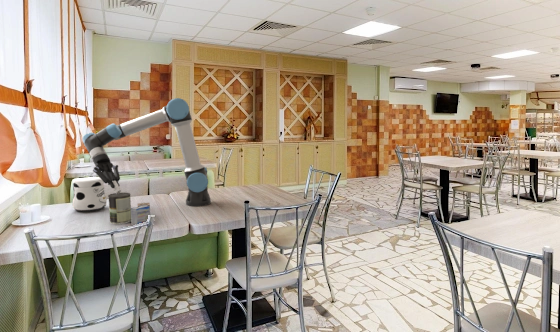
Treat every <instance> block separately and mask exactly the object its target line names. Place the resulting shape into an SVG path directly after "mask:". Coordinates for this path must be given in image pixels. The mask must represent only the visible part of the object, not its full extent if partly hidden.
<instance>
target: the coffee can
mask: <svg viewBox="0 0 560 332" xmlns="http://www.w3.org/2000/svg"><path fill="white" fill-rule="evenodd" d="M107 196H108V197H107V198H108V207H109V208H108V209H109V210H108V211H109V212H108V213H109V223H110V224H111V225H122V224H126V223H129V222H131V208H132V206H131V202H132V201H131V193H130V192H120V193H119V194H116V192H114V193H110V194H108V195H107Z"/></svg>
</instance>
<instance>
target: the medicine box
mask: <svg viewBox="0 0 560 332" xmlns="http://www.w3.org/2000/svg"><path fill="white" fill-rule="evenodd" d="M148 215H150V216H151V205H150V206H147V205H143V206H139V207H138V206H135V207H131V221H130V222H131V225H132V226H134V225H135V224H139V223H143V222H146V221H147V219H148Z"/></svg>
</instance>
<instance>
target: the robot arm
mask: <svg viewBox="0 0 560 332" xmlns="http://www.w3.org/2000/svg"><path fill="white" fill-rule="evenodd" d="M192 120H193V119H192V116H191V111H190V106H189V104H188V103H187V101H186V100H184V99H183V98H181V97H180V98H179V97H175V98H172V99H170V100H169V101H168V103H167V105H165V106H163V107H162V109H158V110H156V111H154V112H151V113H147V114H146V115H143V116H139V117H137V118H134V119H131V120H128V121H125V122H123V123H120V124H115V123H111V124H109V125H107V126H106V127H104V128H103V129H101V130H100V131H98V132H96V133H95V132H89V133H85V134H84V135H83V136H82V142H83V145H84V147H85V148H86V151H87V152H88V154H89V156H90V159H91V160H92V161H93V164H94V165H95V166H94V167H93V170H92V172H93V173H95V174H96V175H97V177H100V178H101V179H102V181H103V182H104V185H105V184H108V186H110V187H111V189H113V191H114V193H116V194H119V193H121V192H122V189H121V188H120V180H121V177H120V172H119V165H118V164H116V165H114V164H113V163H112V162H111V160H110V158H109V156H108V153H107V152H106V150H105V148H104V146H106V145H108V144H109V143H111V142H112V141H117V140H121V139H122V138H125V137H127V136H131V135H133V134H136V133H140V132H142V131H144V130H147V129H150V128H152V127H155V126H158V125H161V124H164V123H166V122H169V123H170V125H171V126H173V127H174V128H175V129H174V130H175V132H176V136H177V139H178V144H179V147H180V150H181V154H182V159H183V161H184V166H185V169H184V171H183V173H184V176H185V180H186V187H187V189H188V192H187V196H186V199H185V205H186V206H190V207H202V206H203V207H204V206H207V205H210V204H211V203H212V202H211V197H210V193H209V192H208V190H209V189H208V186H209V185H208V184H209V179H208V169H207V167H206V166H204V165H203V164H201V160H200V156H199V152H198V149H197V145H196V141H195V137H194V133H193V130H192V127H191V126H192V125H191V123H192Z"/></svg>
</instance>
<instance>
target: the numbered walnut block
mask: <svg viewBox="0 0 560 332" xmlns="http://www.w3.org/2000/svg"><path fill="white" fill-rule="evenodd" d="M143 205H147V206H150V207H151V204H150V202H140V203H137V207H139V206H143Z"/></svg>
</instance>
